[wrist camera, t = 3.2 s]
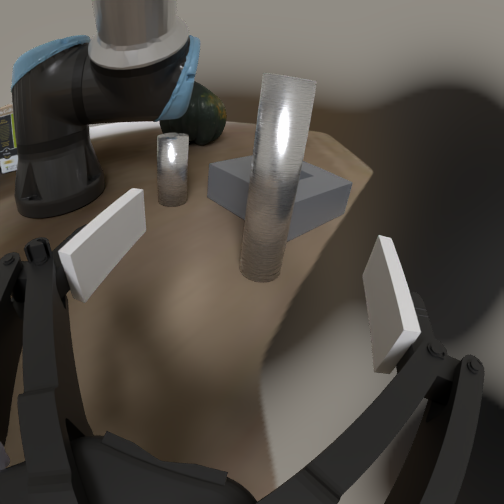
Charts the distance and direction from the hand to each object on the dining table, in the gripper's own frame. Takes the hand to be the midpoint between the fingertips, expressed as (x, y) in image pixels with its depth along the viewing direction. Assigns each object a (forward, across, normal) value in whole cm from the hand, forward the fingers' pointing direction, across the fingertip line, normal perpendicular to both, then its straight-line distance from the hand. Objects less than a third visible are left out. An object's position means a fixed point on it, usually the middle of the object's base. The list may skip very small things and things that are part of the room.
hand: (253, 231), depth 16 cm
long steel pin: (+10, 0, -10) cm, 14 cm away
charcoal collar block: (+25, 0, -10) cm, 27 cm away
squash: (+51, -23, -10) cm, 57 cm away
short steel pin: (+20, -14, -10) cm, 27 cm away
